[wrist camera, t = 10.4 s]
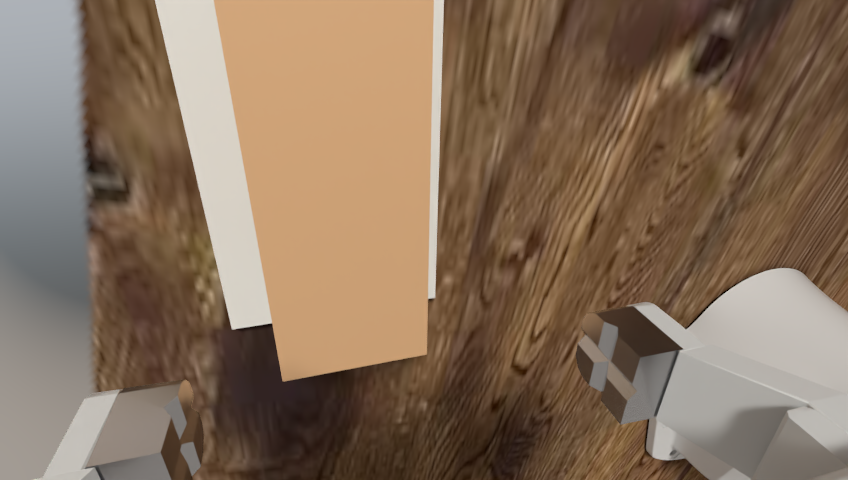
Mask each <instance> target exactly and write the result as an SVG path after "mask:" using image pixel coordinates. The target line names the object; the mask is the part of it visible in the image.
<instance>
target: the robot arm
mask: <svg viewBox="0 0 848 480" xmlns="http://www.w3.org/2000/svg"><path fill="white" fill-rule="evenodd" d="M581 328H582V330H583V331H584V333H585V334H586V335H585V336H584V337H583V338H582V339H581V341H580V342H579V343H578V346H577V352H576V359H577V364H578V368H579V370H580V373H581V375H582V377H583V378H584V379H585V381H586V382H587V383H588V385H590V386H592V387H593V388H595V389H597V390H599V391H601V401H602V402H603V403H604V405H605V406H606V407H607V408H608V410H609V411H610V412H611V413H612V415H613V416H614V417H615V418H616V420H617V421H618V422H619V423H620V425H621V424H625V423H630V422H635V421H640V420H645V419H649V426H648V434H647V443H646V451H647V452H648V453H649V454H650V455H651V456H652V457H653V458H656V459H660V460H678V459H685V458H686V459H687V460H688V461H689V462H690V463H691V464H692V465H693V466H694V467H695V468H696V469H697V470H698V471H699V472H700V473H701V474H703V475H704V476H705V477H706V478H708V479H709V480H848V312H847V311H846V310H845V309H843V308H842V307H841V306H839V305H838V304H837V303H835V302H834V301H833V300H832V299H830V298H829V297H828V296H827V295H826V294H824V293H823V292H822V291H821V290H820V289H819V288H818V287H817V286H815V285H814V284H813V283H812V282H811V281H810V280H809V279H808V278H807V277H806V276H805V275H804V274H803V273H802V272H800V271H798V270H795V269H790V268H778V269H772V270H768V271H764V272H762V273H759V274H756V275H754V276H752V277H750V278H748V279H746V280H744V281H742V282H740V283H739V284H737V285H736V286H734V287H732V288H731V289H730V290H728V291H727V292H725V293H724V294H723V295H722V296H720V297H719V298H718V299H717V300H716V301H715V302H713V303H712V304H711V305H710V306H709V307H708V308H707V309H706V310H705V311H704V312H703V313H702V315H701V316H700V317H699V318H698V319H697V320H696V321H695V322H694V323H693V324H692V325H691V326H690V327H689V328H687V329H685V328H683V327H682V326H681V325H680V324H678V323H677V322H676V321H675V320H673V319H672V318H671V317H670V316H668V315H667V314H666V313H665V312H663V311H662V310H661V309H660V308H658V307H657V306H656V305H655V304H652V303H649V302H643V303H638V304H633V305H628V306H625V307H618V308H613V309H607V310H601V311H595V312H589V313H587V314H586V316H585V317H584V318H583V322H582V326H581ZM193 396H194V395H193V392H192V389H191V386H190V383H189V382H188V381H187V380H178V381H171V382H164V383H157V384H150V385H143V386H136V387H129V388H124V389H119V390H112V391H105V392H98V393H92V394H90V395H89V396H88V397H86V398H85V399H84V400H83V402H82V404H81V406H80V408H79V409H78V412H77V414H76V415H75V417H74V419H73V421H72V423H71V425H70V426H69V428H68V430H67V432H66V434H65V436H64V438H63V440H62V441H61V443H60V445H59V447H58V449H57V451H56V453H55V455H54V457H53V458H52V460H51V462H50V464H49V466H48V468H47V470H46V472H45V473H44V475H43V477H42V478H38V479H33V480H193V478H192V475H193V474H194V473H195V472H196V471H197V470H198V469H199V467H200V466H201V461H202V456H203V440H204V434H203V427H202V421H201V418H200V414H199V413H198V412H197V411H195V410H194V409H192V408H191V404H192V400H193Z"/></svg>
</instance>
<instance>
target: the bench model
mask: <svg viewBox="0 0 848 480" xmlns="http://www.w3.org/2000/svg"><path fill="white" fill-rule="evenodd" d="M214 5H215V10H216V16H217V21H218V27H219V32H220V38H221V44H222V49H223V55H224V60H225V66H226V71H227V77H228V82H229V88H230V93H231V99H232V104H233V110H234V115H235V121H236V126H237V132H238V137H239V143H240V148H241V154H242V159H243V165H244V170H245V176H246V181H247V187H248V192H249V198H250V203H251V209H252V214H253V220H254V225H255V231H256V237H257V242H258V248H259V253H260V259H261V264H262V270H263V275H264V281H265V286H266V292H267V297H268V303H269V308H270V314H271V319H272V325H273V330H274V336H275V341H276V347H277V352H278V358H279V363H280V369H281V374H282V380H283V382H284V381H289V380H294V379H300V378H305V377H310V376H315V375H321V374H326V373H331V372H337V371H342V370H347V369H352V368H358V367H363V366H368V365H374V364H379V363H384V362H389V361H395V360H400V359H405V358H410V357H416V356H421V355H426V354H427V319H428V269H429V219H430V168H431V118H432V68H433V18H434V0H214Z"/></svg>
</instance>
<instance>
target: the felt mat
mask: <svg viewBox="0 0 848 480" xmlns="http://www.w3.org/2000/svg"><path fill="white" fill-rule="evenodd" d="M155 3H156V7H157V11H158V15H159V20H160V24H161V28H162V32H163V37H164V41H165V45H166V49H167V54H168V58H169V62H170V67H171V71H172V75H173V79H174V84H175V88H176V92H177V96H178V101H179V105H180V109H181V113H182V118H183V122H184V126H185V131H186V135H187V139H188V143H189V148H190V152H191V156H192V160H193V165H194V169H195V173H196V178H197V182H198V186H199V190H200V195H201V199H202V203H203V207H204V212H205V216H206V220H207V224H208V229H209V233H210V237H211V242H212V246H213V250H214V254H215V259H216V263H217V267H218V271H219V276H220V280H221V284H222V289H223V293H224V297H225V301H226V306H227V310H228V314H229V318H230V323H231V327H232V329H239V328H245V327H251V326H258V325H264V324H270V323H272V319H271V314H270V308H269V303H268V297H267V292H266V286H265V281H264V275H263V270H262V264H261V259H260V253H259V248H258V242H257V237H256V231H255V225H254V220H253V214H252V209H251V203H250V198H249V192H248V187H247V181H246V176H245V170H244V165H243V159H242V154H241V148H240V143H239V137H238V132H237V126H236V121H235V115H234V110H233V104H232V99H231V93H230V88H229V82H228V77H227V71H226V66H225V60H224V55H223V49H222V44H221V38H220V32H219V27H218V21H217V16H216V10H215V5H214V0H155ZM443 12H444V0H434V18H433V68H432V118H431V168H430V219H429V269H428V299H430V298H435V282H436V248H437V214H438V180H439V147H440V113H441V79H442V46H443Z"/></svg>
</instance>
